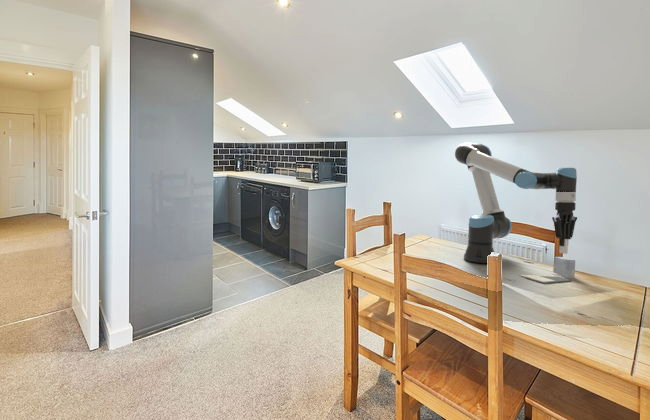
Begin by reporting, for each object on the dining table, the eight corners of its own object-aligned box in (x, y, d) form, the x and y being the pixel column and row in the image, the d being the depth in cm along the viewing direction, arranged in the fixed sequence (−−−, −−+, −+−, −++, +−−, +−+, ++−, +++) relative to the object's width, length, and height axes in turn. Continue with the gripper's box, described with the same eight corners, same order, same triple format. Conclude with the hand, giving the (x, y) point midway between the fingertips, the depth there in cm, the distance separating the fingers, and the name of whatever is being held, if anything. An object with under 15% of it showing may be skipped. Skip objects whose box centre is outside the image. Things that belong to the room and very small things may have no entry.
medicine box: (574, 279, 154) (576, 260, 153) (565, 279, 153) (566, 260, 153) (561, 274, 161) (562, 256, 161) (552, 274, 161) (553, 256, 161)
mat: (516, 275, 158) (516, 274, 158) (542, 273, 163) (542, 272, 163) (544, 284, 144) (544, 282, 144) (571, 281, 149) (571, 279, 149)
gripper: (563, 202, 149) (561, 255, 150) (584, 201, 153) (581, 253, 154) (547, 201, 156) (545, 252, 157) (567, 201, 160) (565, 251, 162)
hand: (563, 253), depth 156 cm, fingers closed
